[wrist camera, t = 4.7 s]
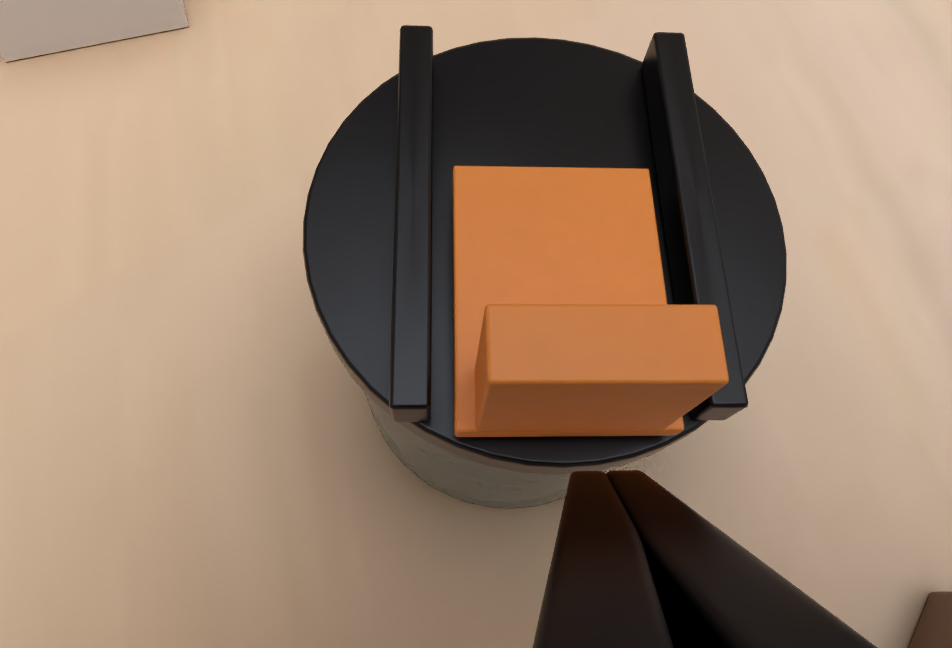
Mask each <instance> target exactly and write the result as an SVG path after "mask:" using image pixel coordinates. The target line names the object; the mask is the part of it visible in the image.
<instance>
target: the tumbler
mask: <svg viewBox="0 0 952 648" xmlns="http://www.w3.org/2000/svg"><path fill="white" fill-rule="evenodd" d="M454 166H508V167H573V168H638V169H649V173H650V180H651V188H652V195H653V202H654V210H655V217H656V225H657V232H658V239H659V247H660V254H661V261H662V269H663V276H664V283H665V291H666V298H667V305H716V307H717V310H718V316H719V322H720V328H721V334H722V340H723V346H724V352H725V358H726V364H727V370H728V376H729V381H728V383H727V384H726V385H725V386H723V387H722V388H721V389H719V390H718V391H716V392H715V393H714V394H712V395H711V396H710V397H708V398H707V399H705V400H704V401H703V402H701V403H700V404H698V405H697V406H696V407H694V408H693V409H692V410H690V411H689V412H687V413H686V414H685V415H683V423H684V430H683V431H681V432H680V433H678V434H677V435H675V436H542V437H456V436H455V434H454V313H453V167H454ZM303 255H304V262H305V269H306V276H307V282H308V285H309V288H310V292H311V295H312V298H313V302H314V305H315V308H316V311H317V313H318V316H319V318H320V320H321V323H322V325H323V327H324V329H325V331H326V334H327V336H328V338H329V340H330V342H331V344H332V346H333V349H334V351H335V352H336V354H337V355H338V357H339V358H340V360H341V361H342V363H343V364H344V366H345V367H346V369H347V371H348V372H349V374H350V375H351V377H352V378H353V379H354V380H355V381H356V382H357V384H358V385H359V386H360V387H361V388H362V389H363V390H364V392H365V394H366V397H367V400H368V402H369V405H370V408H371V411H372V414H373V416H374V419H375V421H376V423H377V425H378V427H379V429H380V431H381V434H382V435H383V437H384V438H385V440H386V441H387V443H388V444H389V446H390V448H391V449H392V450H393V452H394V453H395V454H396V455H397V456H398V457H399V459H400V460H401V461H402V462H403V463H404V464H405V465H406V466H407V467H408V468H409V469H410V470H411V471H413V472H414V473H415V474H416V475H417V476H418V477H419V478H421V479H422V480H424V481H425V482H427V483H428V484H430V485H431V486H433V487H434V488H436V489H438V490H440V491H442V492H444V493H446V494H448V495H450V496H452V497H455V498H458V499H461V500H464V501H467V502H470V503H473V504H478V505H483V506H489V507H500V508H519V507H531V506H536V505H540V504H545V503H549V502H552V501H555V500H558V499H560V498H563V497H566V492H567V488H568V483H569V479H570V475H571V473H572V472H574V471H602V472H605V471H607V470H608V469H609V468H612V467H617V466H621V465H625V464H628V463H630V462H633V461H636V460H639V459H641V458H644V457H647V456H649V455H652V454H655V453H656V452H658V451H660V450H662V449H664V448H666V447H667V446H669V445H671V444H673V443H675V442H677V441H679V440H680V439H682V438H684V437H685V436H687V435H688V434H690V433H692V432H693V431H695V430H696V429H697V428H699V427H700V426H701V425H703V424H704V423H705V422H707V421H708V420H725V419H727V418H729V417H731V416H732V415H734V414H736V413H737V412H739V411H741V410H742V409H744V408H745V407H747V405H748V399H747V393H746V388H745V384H746V383H747V382H748V380H749V379H750V377H751V376H752V375H753V373H754V372H755V370H756V369H757V368H758V366H759V365H760V363H761V361H762V359H763V357H764V355H765V353H766V351H767V349H768V347H769V345H770V343H771V341H772V339H773V336H774V333H775V330H776V327H777V324H778V321H779V318H780V314H781V311H782V305H783V299H784V293H785V286H786V247H785V240H784V233H783V226H782V222H781V219H780V215H779V212H778V209H777V205H776V202H775V198H774V196H773V194H772V192H771V189H770V187H769V185H768V183H767V180H766V178H765V176H764V174H763V172H762V170H761V168H760V167H759V165H758V163H757V162H756V160H755V158H754V157H753V155H752V153H751V152H750V150H749V149H748V148H747V146H746V145H745V144H744V142H743V141H742V140H741V138H740V137H739V136H738V135H737V133H736V132H735V131H734V129H733V128H732V127H731V126H730V125H729V124H728V123H727V122H726V121H725V120H724V119H723V118H722V117H721V116H720V115H719V114H718V113H717V112H716V111H715V110H714V109H713V108H712V107H711V106H710V105H708V104H707V103H706V102H705V101H704V100H702V99H701V98H700V97H699V96H697V95H696V94H695V93H694V89H693V83H692V78H691V72H690V66H689V60H688V55H687V49H686V43H685V37H684V34H682V33H667V32H656V33H654V35H653V37H652V40H651V42H650V45H649V48H648V50H647V53H646V55H645V58H644V61H643V62H641V61H638V60H636V59H633V58H631V57H628V56H626V55H623V54H621V53H618V52H615V51H611V50H608V49H604V48H601V47H597V46H594V45H590V44H585V43H579V42H573V41H568V40H561V39H548V38H506V39H498V40H490V41H483V42H478V43H473V44H469V45H465V46H461V47H457V48H453V49H450V50H448V51H445V52H442V53H439V54H436V55H434V56H433V30H432V28H431V27H430V26H409V25H404V26H402V27H401V29H400V50H399V73H398V74H396V75H395V76H393V77H392V78H390V79H389V80H387V81H386V82H384V83H383V84H381V85H380V86H379V87H378V88H377V89H375V90H374V91H373V92H372V93H371V94H370V95H368V96H367V97H366V98H365V99H364V100H363V101H361V103H360V104H359V105H358V106H357V107H356V108H355V109H354V110H353V111H352V113H351V114H350V115H349V116H348V117H347V118H346V119H345V120H344V121H343V123H342V124H341V126H340V127H339V129H338V130H337V132H336V133H335V135H334V136H333V138H332V139H331V141H330V142H329V144H328V146H327V148H326V150H325V152H324V154H323V156H322V158H321V160H320V162H319V164H318V166H317V168H316V171H315V174H314V177H313V180H312V183H311V186H310V189H309V193H308V196H307V203H306V209H305V215H304V221H303Z"/></svg>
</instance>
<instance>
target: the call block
mask: <svg viewBox="0 0 952 648" xmlns="http://www.w3.org/2000/svg"><path fill="white" fill-rule="evenodd" d="M909 648H952V592H931V594H930V596H929V598H928V601H927V603H926V606H925V608H924V611H923V613H922V616H921V618H920V621H919V623H918V625H917V628H916V630H915V633H914V635H913V638H912V640H911V643H910V645H909Z"/></svg>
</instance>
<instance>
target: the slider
mask: <svg viewBox="0 0 952 648" xmlns="http://www.w3.org/2000/svg"><path fill="white" fill-rule="evenodd" d="M453 313H454V434H455V436H456V437H542V436H675V435H677V434H678V433H680V432H681V431H683V430H684V423H683V415H685V414H686V413H687V412H689V411H690V410H692V409H693V408H694V407H696V406H697V405H698V404H700V403H701V402H703V401H704V400H705V399H707V398H708V397H710V396H711V395H712V394H714V393H715V392H716V391H718V390H719V389H721V388H722V387H723V386H725V385H726V384H727V383H728V381H729V376H728V370H727V364H726V358H725V352H724V346H723V340H722V334H721V328H720V322H719V316H718V310H717V307H716V305H667V298H666V291H665V283H664V276H663V269H662V261H661V254H660V247H659V239H658V232H657V225H656V217H655V210H654V202H653V195H652V188H651V180H650V173H649V169H638V168H573V167H508V166H454V167H453Z"/></svg>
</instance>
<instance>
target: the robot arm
mask: <svg viewBox="0 0 952 648" xmlns="http://www.w3.org/2000/svg"><path fill="white" fill-rule="evenodd" d="M533 648H877V647H876V646H875V645H873V644H872V643H871V642H869V641H868V640H866V639H865V638H864V637H862V636H861V635H860V634H858V633H857V632H856V631H854V630H853V629H852V628H850V627H849V626H848V625H846V624H845V623H844V622H842V621H841V620H840V619H838V618H837V617H836V616H834V615H833V614H832V613H830V612H829V611H828V610H826V609H825V608H824V607H822V606H821V605H820V604H818V603H817V602H816V601H814V600H813V599H812V598H810V597H809V596H808V595H806V594H805V593H804V592H802V591H801V590H800V589H798V588H797V587H796V586H794V585H793V584H792V583H790V582H789V581H788V580H786V579H785V578H784V577H782V576H781V575H780V574H778V573H777V572H776V571H774V570H773V569H772V568H770V567H769V566H768V565H766V564H765V563H764V562H762V561H761V560H759V559H758V558H757V557H755V556H754V555H753V554H751V553H750V552H749V551H747V550H746V549H745V548H743V547H742V546H741V545H739V544H738V543H737V542H735V541H734V540H733V539H731V538H730V537H729V536H727V535H726V534H725V533H723V532H722V531H721V530H719V529H718V528H717V527H715V526H714V525H713V524H711V523H710V522H709V521H707V520H706V519H705V518H703V517H702V516H701V515H699V514H698V513H697V512H695V511H694V510H693V509H691V508H690V507H689V506H687V505H686V504H685V503H683V502H682V501H681V500H679V499H678V498H677V497H675V496H674V495H673V494H671V493H670V492H669V491H667V490H666V489H665V488H663V487H662V486H661V485H659V484H658V483H657V482H655V481H654V480H652V479H651V478H650V477H648V476H647V475H646V474H644V473H643V472H641V471H637V470H629V471H609V472H608V473H607V474H606V473H604V472H602V471H574V472H572V473H571V475H570V479H569V483H568V488H567V492H566V497H565V502H564V506H563V511H562V515H561V520H560V524H559V529H558V534H557V538H556V543H555V547H554V552H553V557H552V561H551V566H550V570H549V575H548V580H547V584H546V589H545V593H544V598H543V602H542V607H541V612H540V616H539V621H538V625H537V630H536V635H535V639H534V644H533Z"/></svg>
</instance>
